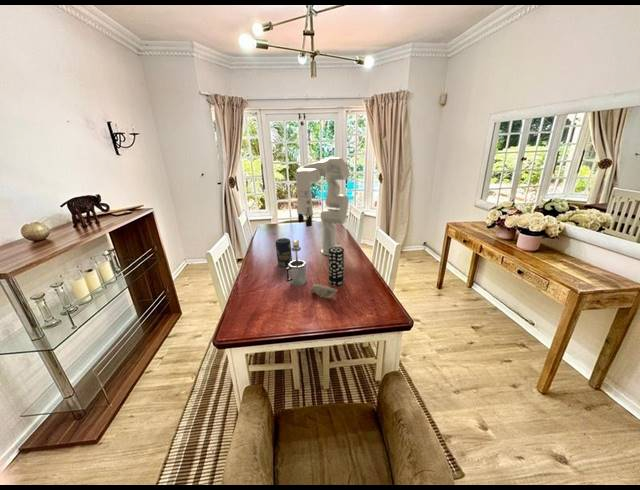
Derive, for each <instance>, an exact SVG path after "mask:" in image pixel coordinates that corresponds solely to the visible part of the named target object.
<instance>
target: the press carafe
mask: <svg viewBox="0 0 640 490" xmlns="http://www.w3.org/2000/svg"><path fill="white" fill-rule="evenodd" d="M294 264H296V259H294V260H292V261H291V262H290V263H289V264H288V266H287V267H285V274H286V275H285V277H286V282H287V283H289V282H290V284H291V285H292V286H293V287H302V286H304V285H306V283H307V269H306V267H307V266H306V265H307V262H306V261H304V260H302V259H298V264H302V266H298V267H296V266H293V265H294Z"/></svg>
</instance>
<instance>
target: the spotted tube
mask: <svg viewBox="0 0 640 490" xmlns="http://www.w3.org/2000/svg"><path fill="white" fill-rule="evenodd" d="M344 275H345V249H344V248H343V247H332V248H329V255H328V283H329V285H330V286H332V287H341V286H343V285H344V283H345V282H344V281H345V280H344V279H345V276H344Z"/></svg>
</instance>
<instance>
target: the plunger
mask: <svg viewBox="0 0 640 490" xmlns="http://www.w3.org/2000/svg"><path fill="white" fill-rule="evenodd" d="M291 243H292V247H291V252H295V260H296V264H294V265H293V266H296V267H298V266H302V264H298V260H299V257H298V252H299V251H301V250H302V248H301V247H300V240H299V239H293V240H292V242H291Z"/></svg>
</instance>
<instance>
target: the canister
mask: <svg viewBox="0 0 640 490" xmlns="http://www.w3.org/2000/svg"><path fill="white" fill-rule="evenodd" d="M291 243H292V242H291V240H290V238H286V237H282V238H278V239H277V240H275V250H276V259H277V265H278V266H279V267H289V266H288V264H289V263H290V262H291V261H293V256H292V245H291Z"/></svg>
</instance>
